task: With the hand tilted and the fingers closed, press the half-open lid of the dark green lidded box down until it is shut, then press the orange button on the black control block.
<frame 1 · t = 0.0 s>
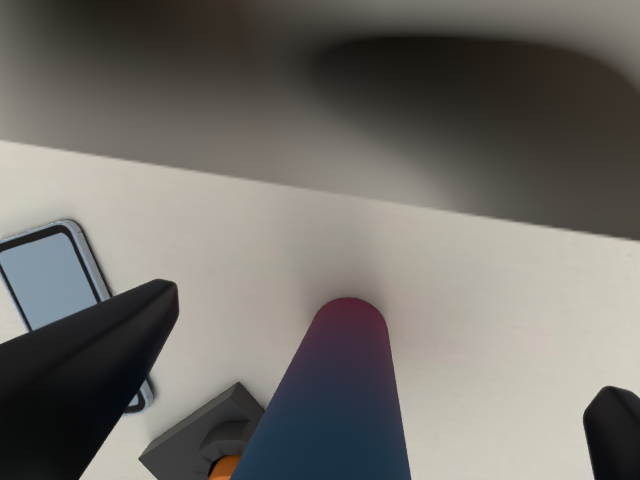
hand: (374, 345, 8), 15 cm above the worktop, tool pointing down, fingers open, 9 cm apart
smartphone: (81, 323, 28), on the worktop
control block: (231, 455, 29), on the worktop
cup: (349, 331, 25), on the worktop
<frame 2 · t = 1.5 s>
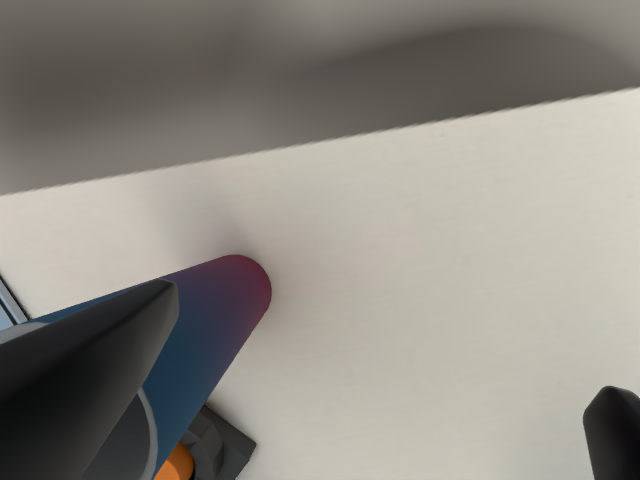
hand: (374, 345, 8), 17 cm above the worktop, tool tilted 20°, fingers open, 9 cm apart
smartphone: (13, 357, 30), on the worktop
start button: (161, 470, 25), point 4 cm above the worktop, slide at 0.1 cm
control block: (175, 453, 29), on the worktop
cup: (237, 289, 27), on the worktop
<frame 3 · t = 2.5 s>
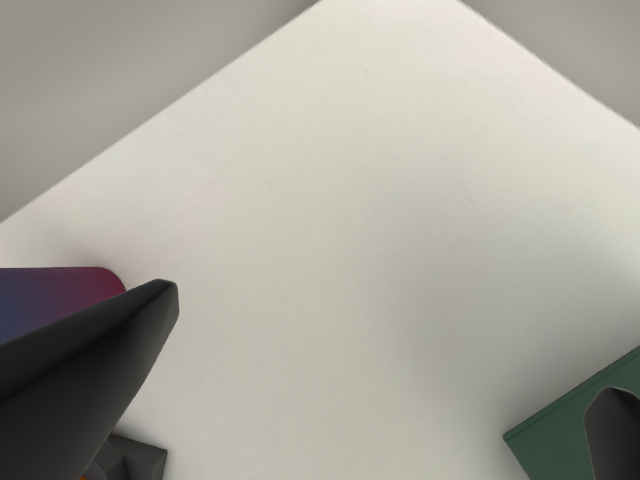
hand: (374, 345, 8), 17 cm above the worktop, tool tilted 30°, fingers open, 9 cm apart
cup: (97, 301, 28), on the worktop
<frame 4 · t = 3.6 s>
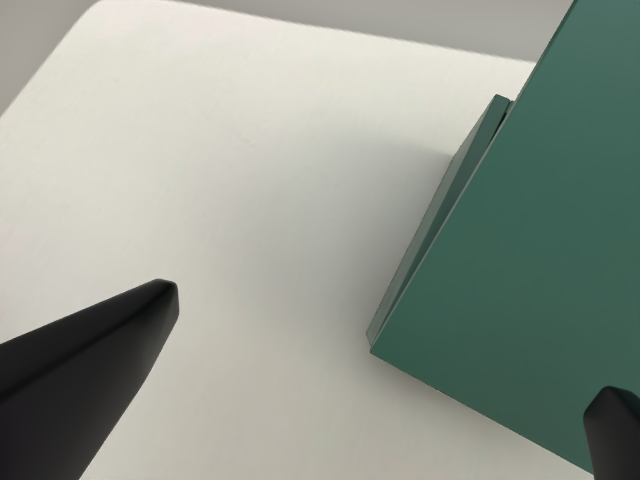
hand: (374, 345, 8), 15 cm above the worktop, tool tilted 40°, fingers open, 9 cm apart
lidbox: (491, 281, 23), on the worktop
lid: (617, 291, 11), point 12 cm above the worktop, hinge at 38.0°
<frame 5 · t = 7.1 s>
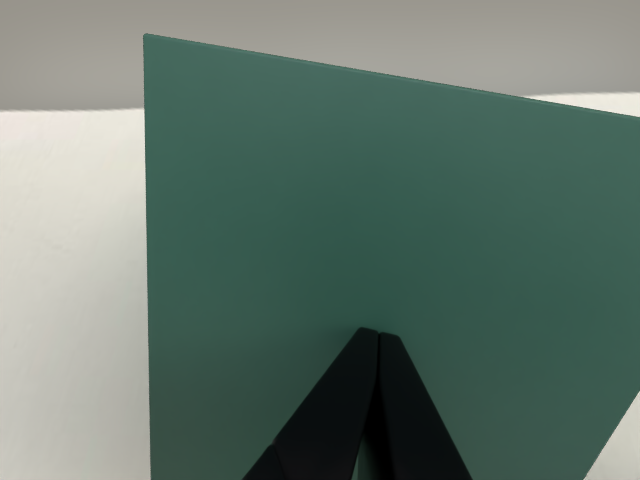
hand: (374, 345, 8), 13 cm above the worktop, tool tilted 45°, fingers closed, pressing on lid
lid: (362, 381, 9), point 11 cm above the worktop, hinge at 37.0°, touching gripper
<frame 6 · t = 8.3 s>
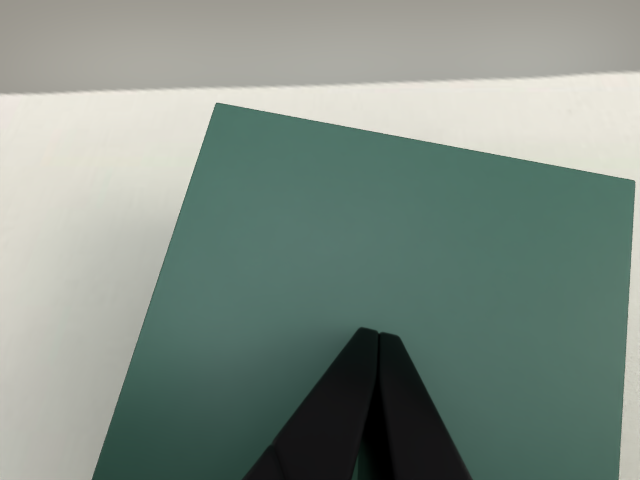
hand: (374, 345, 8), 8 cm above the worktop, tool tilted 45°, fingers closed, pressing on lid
lid: (359, 411, 8), point 8 cm above the worktop, hinge at 1.7°, touching gripper
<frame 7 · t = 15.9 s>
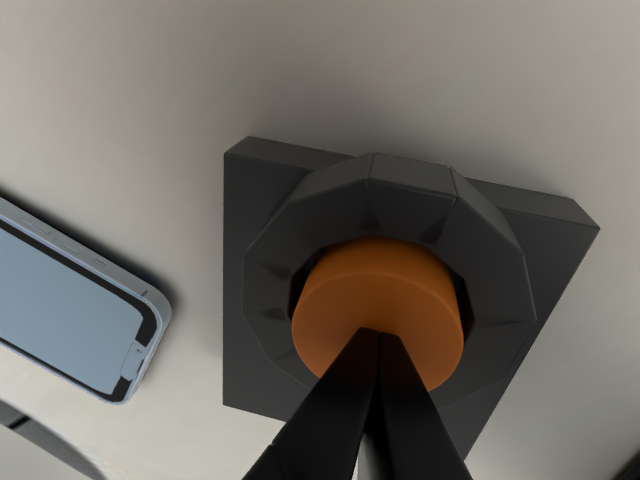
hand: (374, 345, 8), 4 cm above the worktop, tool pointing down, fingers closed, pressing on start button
start button: (376, 316, 9), point 3 cm above the worktop, slide at -0.4 cm, touching gripper
control block: (367, 304, 13), on the worktop
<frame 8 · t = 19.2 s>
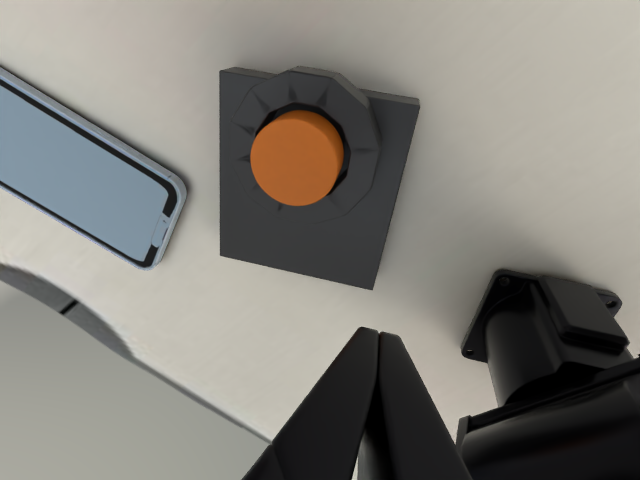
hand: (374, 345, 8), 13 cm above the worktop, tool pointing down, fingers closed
smartphone: (67, 162, 23), on the worktop
start button: (298, 158, 16), point 4 cm above the worktop, slide at 0.1 cm
control block: (311, 180, 21), on the worktop
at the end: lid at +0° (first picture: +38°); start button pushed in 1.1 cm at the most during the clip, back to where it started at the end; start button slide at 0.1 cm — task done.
